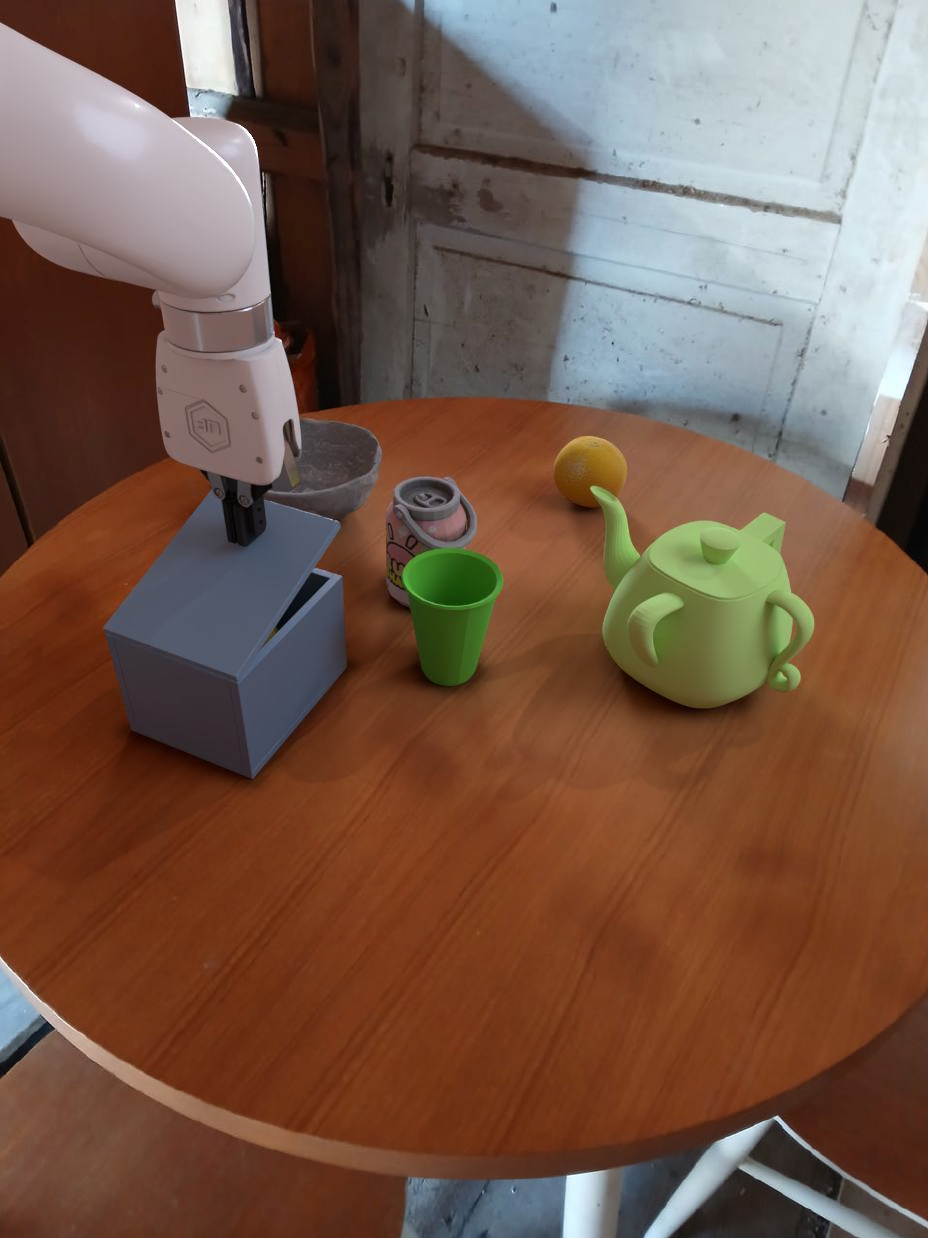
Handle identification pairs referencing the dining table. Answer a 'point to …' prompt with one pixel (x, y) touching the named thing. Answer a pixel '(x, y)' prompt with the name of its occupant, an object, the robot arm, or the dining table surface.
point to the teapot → (702, 609)
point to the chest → (240, 685)
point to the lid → (222, 588)
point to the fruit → (589, 469)
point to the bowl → (333, 469)
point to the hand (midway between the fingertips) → (247, 536)
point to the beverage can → (424, 525)
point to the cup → (451, 610)
